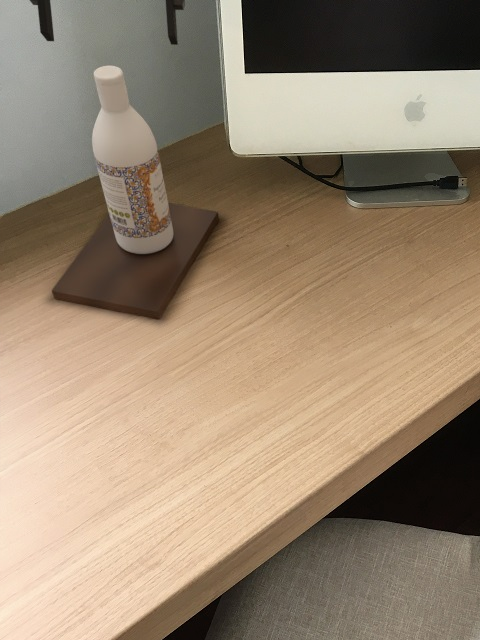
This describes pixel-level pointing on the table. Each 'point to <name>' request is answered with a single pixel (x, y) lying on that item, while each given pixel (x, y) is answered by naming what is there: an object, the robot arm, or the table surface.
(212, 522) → the table surface
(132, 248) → the bath foam
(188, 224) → the walnut board
